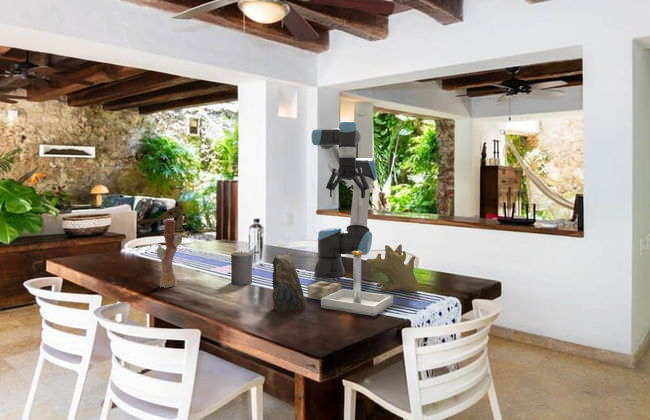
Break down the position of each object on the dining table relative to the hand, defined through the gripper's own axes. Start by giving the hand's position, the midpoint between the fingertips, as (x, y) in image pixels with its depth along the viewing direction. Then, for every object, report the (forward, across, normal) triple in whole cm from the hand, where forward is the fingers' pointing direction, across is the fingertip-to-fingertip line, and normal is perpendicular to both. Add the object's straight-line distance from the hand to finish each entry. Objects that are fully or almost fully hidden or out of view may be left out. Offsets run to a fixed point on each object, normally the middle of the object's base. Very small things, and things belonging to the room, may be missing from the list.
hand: (347, 205), depth 215 cm
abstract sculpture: (+37, -69, -39) cm, 87 cm away
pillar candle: (+37, -46, -17) cm, 61 cm away
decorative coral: (+37, +19, +8) cm, 42 cm away
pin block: (+37, 0, -20) cm, 42 cm away
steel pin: (+36, +18, -26) cm, 48 cm away
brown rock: (+37, -3, -42) cm, 56 cm away
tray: (+37, +18, -26) cm, 48 cm away
